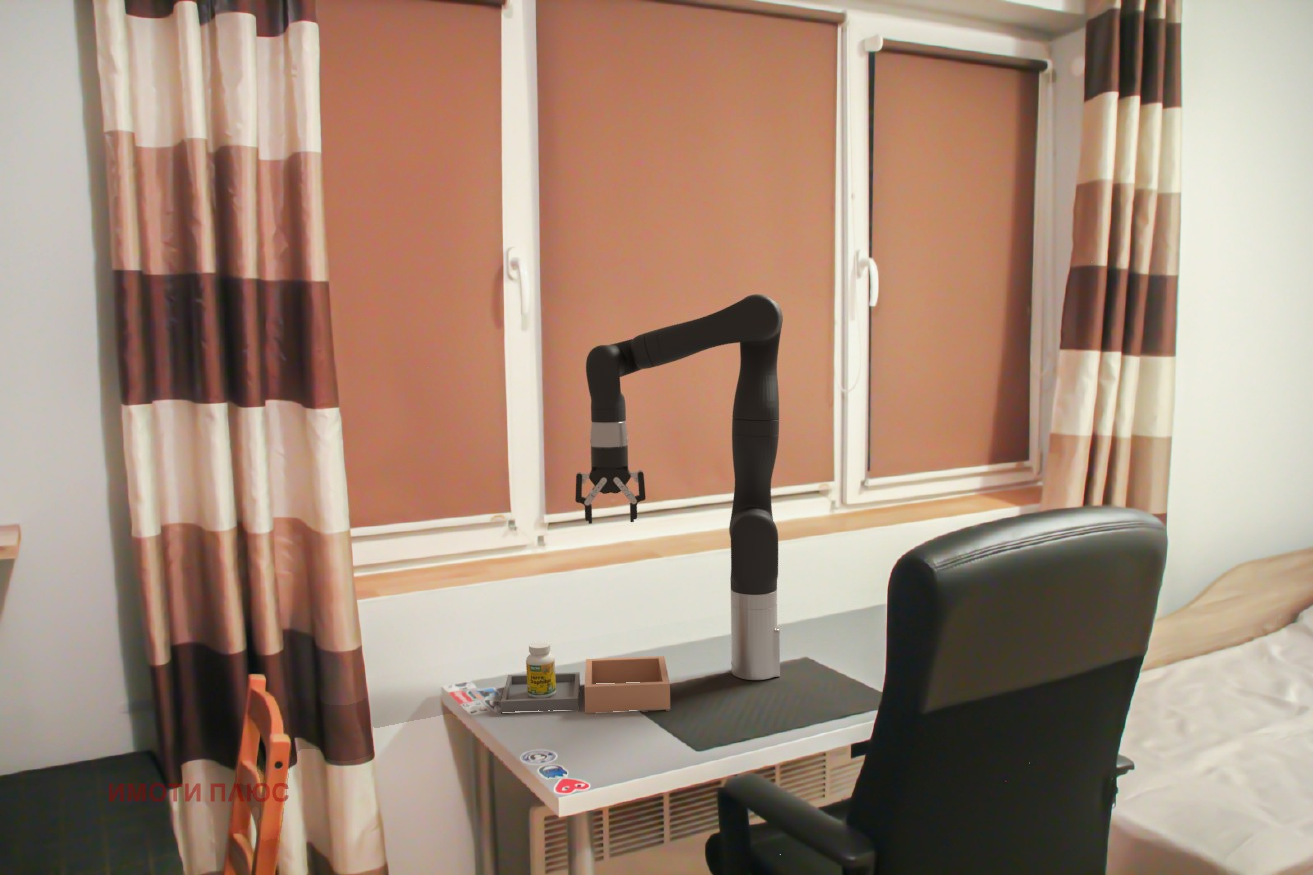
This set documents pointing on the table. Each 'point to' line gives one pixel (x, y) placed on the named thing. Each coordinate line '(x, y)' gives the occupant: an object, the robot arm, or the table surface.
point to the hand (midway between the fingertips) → (611, 522)
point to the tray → (563, 698)
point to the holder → (626, 684)
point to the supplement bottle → (540, 671)
